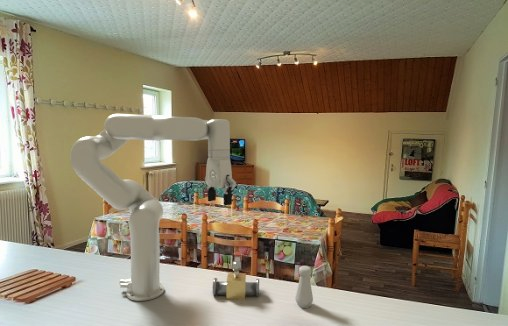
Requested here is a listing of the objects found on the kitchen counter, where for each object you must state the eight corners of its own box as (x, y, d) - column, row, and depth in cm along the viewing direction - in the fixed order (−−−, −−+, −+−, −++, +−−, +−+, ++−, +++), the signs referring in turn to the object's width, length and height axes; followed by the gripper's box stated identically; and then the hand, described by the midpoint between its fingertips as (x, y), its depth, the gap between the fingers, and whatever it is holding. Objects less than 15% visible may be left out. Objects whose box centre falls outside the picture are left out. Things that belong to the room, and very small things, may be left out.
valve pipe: (212, 298, 109) (212, 273, 108) (214, 289, 115) (215, 265, 115) (258, 299, 109) (259, 274, 108) (258, 290, 115) (259, 266, 115)
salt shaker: (312, 310, 103) (314, 271, 102) (294, 308, 104) (296, 270, 103) (312, 301, 108) (314, 264, 107) (295, 299, 110) (297, 263, 109)
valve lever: (240, 271, 110) (240, 263, 110) (232, 271, 110) (232, 263, 110) (242, 258, 122) (242, 251, 121) (234, 258, 122) (234, 251, 121)
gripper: (196, 154, 115) (197, 200, 117) (225, 156, 102) (225, 208, 104) (214, 153, 120) (214, 198, 122) (243, 155, 107) (243, 205, 109)
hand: (219, 202), depth 113 cm, fingers open, 9 cm apart
